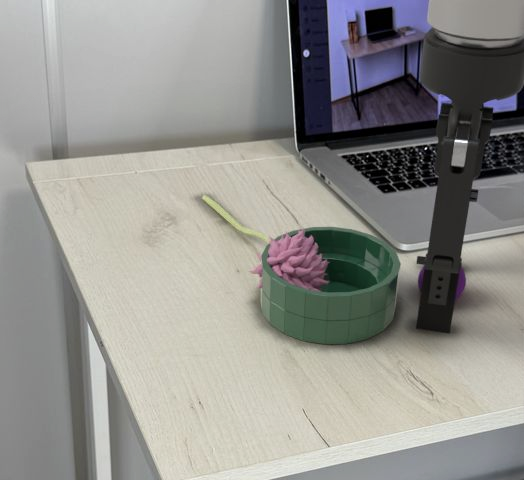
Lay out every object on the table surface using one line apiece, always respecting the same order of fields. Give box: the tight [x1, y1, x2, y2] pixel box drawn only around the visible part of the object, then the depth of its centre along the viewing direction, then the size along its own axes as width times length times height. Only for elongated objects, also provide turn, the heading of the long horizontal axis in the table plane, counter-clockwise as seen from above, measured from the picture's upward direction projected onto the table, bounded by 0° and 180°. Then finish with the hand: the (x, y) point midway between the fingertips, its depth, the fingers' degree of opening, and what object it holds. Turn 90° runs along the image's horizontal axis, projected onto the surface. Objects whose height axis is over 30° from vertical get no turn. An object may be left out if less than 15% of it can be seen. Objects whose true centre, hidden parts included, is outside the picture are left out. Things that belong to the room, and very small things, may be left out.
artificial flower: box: [201, 194, 330, 291], centre depth 80 cm, size 7×7×25 cm
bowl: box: [260, 226, 402, 345], centre depth 73 cm, size 11×11×5 cm
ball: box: [417, 265, 467, 302], centre depth 75 cm, size 4×4×4 cm
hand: (438, 298), depth 76 cm, fingers open, 9 cm apart
